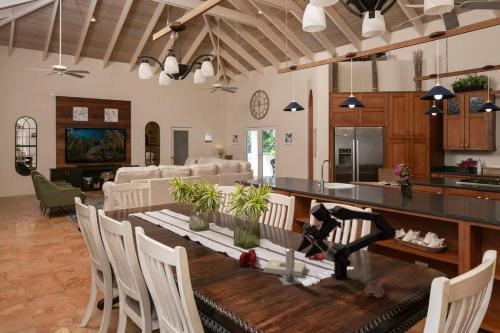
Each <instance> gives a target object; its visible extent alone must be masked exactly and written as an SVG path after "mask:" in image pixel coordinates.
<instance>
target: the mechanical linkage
mask: <svg viewBox="0 0 500 333" xmlns="http://www.w3.org/2000/svg"><path fill="white" fill-rule="evenodd" d="M238 260H239V262H238V263H239V266H244V265H245V264H246V263H247V264H249V266H250V267H255V265H256V263H257V252H256V250H255V249H254V248H249V250H248V251H247V252H246V251H243V252H242V253H241V254H240V255H239V259H238Z"/></svg>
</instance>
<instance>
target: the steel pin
mask: <svg viewBox="0 0 500 333" xmlns="http://www.w3.org/2000/svg"><path fill="white" fill-rule="evenodd" d="M285 261H286V275H285V277H286V281H287V282H294V277H295V276H294V262H295V248H291V247H290V248H285Z"/></svg>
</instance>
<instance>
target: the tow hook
mask: <svg viewBox="0 0 500 333" xmlns="http://www.w3.org/2000/svg"><path fill="white" fill-rule="evenodd" d="M323 258H324V255H323V254H322V253H319V254H316V255H313V256H311V257H308V258H307V259H309V260H314V261H323Z"/></svg>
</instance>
